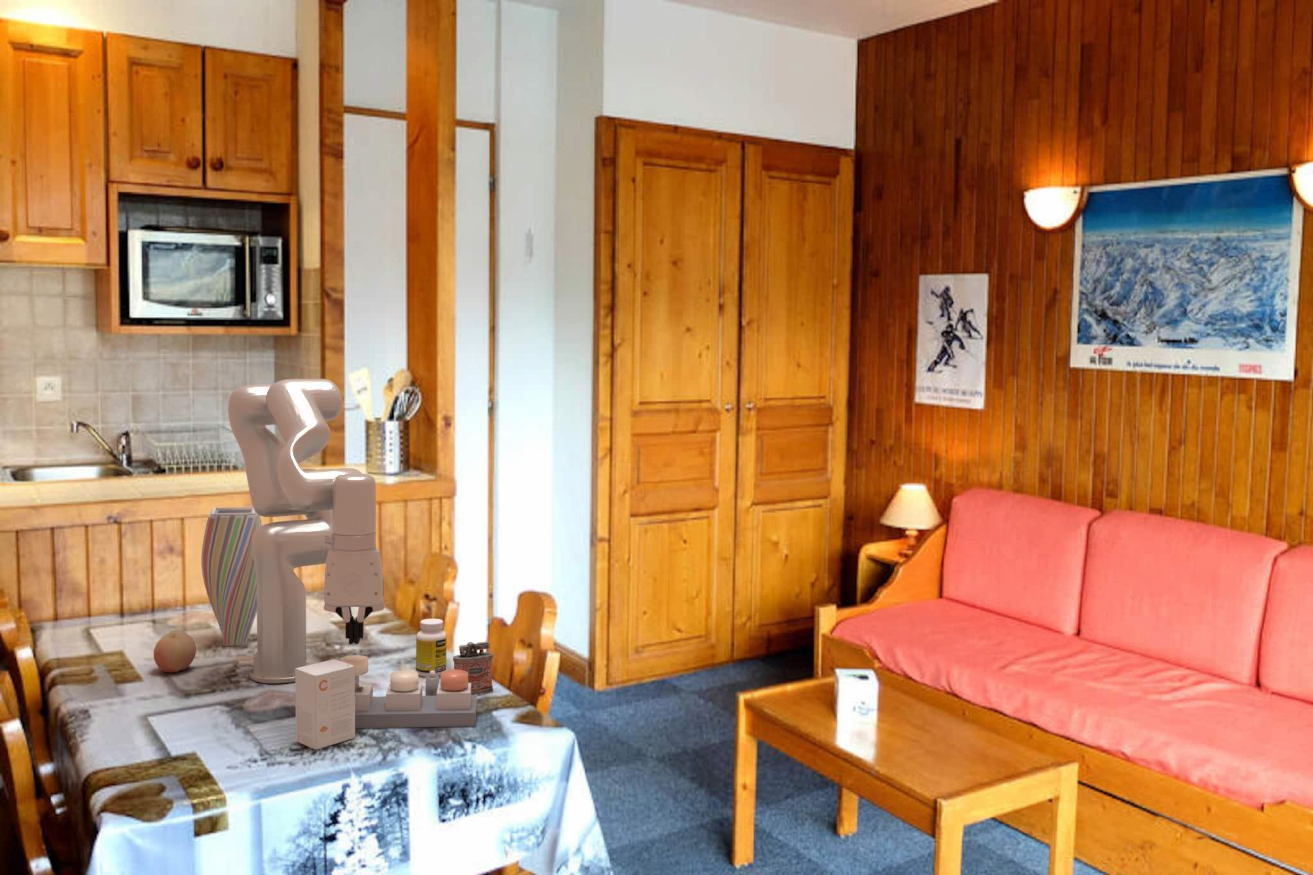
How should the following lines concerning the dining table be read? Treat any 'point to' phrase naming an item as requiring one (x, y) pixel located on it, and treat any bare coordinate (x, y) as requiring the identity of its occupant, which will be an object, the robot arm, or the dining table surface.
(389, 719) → the mount board
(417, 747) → the dining table surface
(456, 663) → the lighter
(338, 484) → the robot arm
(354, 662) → the knob near
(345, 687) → the small box
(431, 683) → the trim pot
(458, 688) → the knob far
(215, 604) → the vase
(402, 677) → the knob mid
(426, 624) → the pill bottle
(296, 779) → the dining table surface
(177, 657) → the fruit
